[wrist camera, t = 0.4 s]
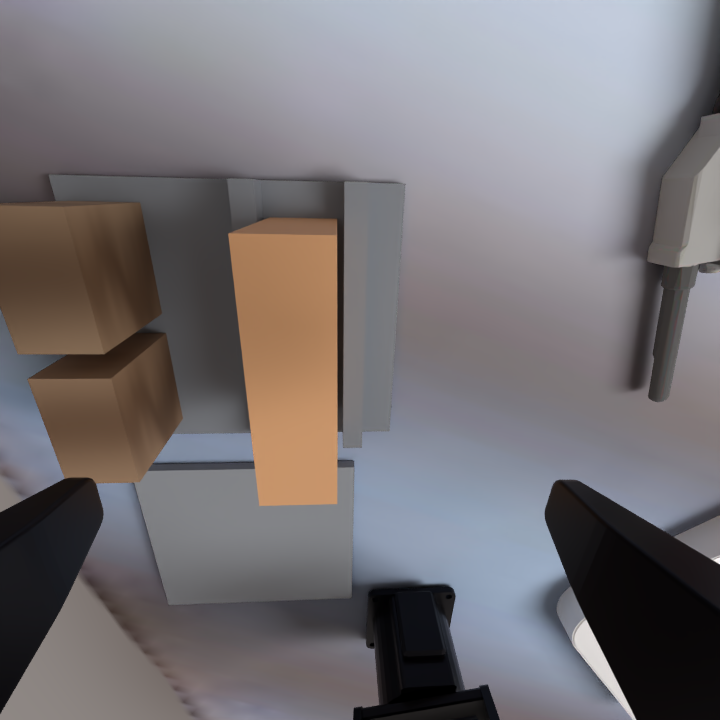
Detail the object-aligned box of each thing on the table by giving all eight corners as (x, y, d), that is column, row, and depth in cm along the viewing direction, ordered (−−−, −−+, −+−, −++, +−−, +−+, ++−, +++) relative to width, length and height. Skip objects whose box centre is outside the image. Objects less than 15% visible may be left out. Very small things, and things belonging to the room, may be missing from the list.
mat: (351, 590, 28) (351, 598, 28) (172, 596, 27) (168, 605, 27) (353, 460, 23) (354, 467, 23) (135, 464, 22) (130, 471, 22)
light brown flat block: (337, 409, 21) (337, 504, 15) (283, 409, 21) (259, 505, 15) (337, 218, 17) (336, 235, 11) (269, 217, 17) (228, 233, 10)
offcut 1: (162, 313, 18) (104, 354, 14) (98, 313, 18) (17, 354, 14) (140, 202, 16) (63, 206, 12) (67, 200, 16) (-39, 204, 12)
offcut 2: (183, 418, 21) (139, 482, 16) (126, 419, 21) (66, 483, 16) (166, 333, 19) (111, 378, 14) (103, 332, 19) (27, 378, 14)
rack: (388, 426, 22) (392, 447, 21) (126, 429, 21) (106, 451, 20) (403, 183, 17) (411, 183, 15) (56, 175, 16) (20, 172, 14)
